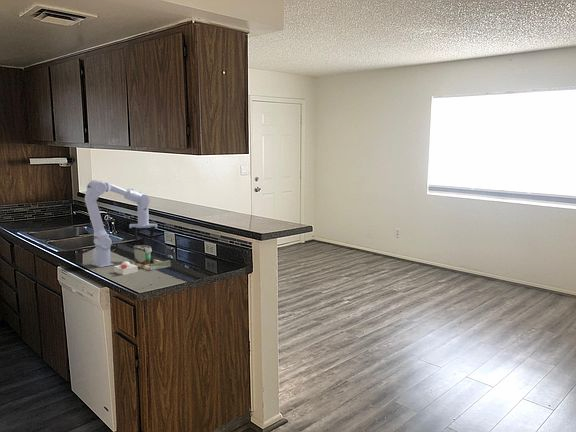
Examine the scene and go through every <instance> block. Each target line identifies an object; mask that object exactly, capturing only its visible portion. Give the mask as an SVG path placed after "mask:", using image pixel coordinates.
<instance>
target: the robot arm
mask: <svg viewBox="0 0 576 432" xmlns="http://www.w3.org/2000/svg"><path fill="white" fill-rule="evenodd" d="M106 192H108V193H109V192H112V193H116V194H118V195H121V196H123V197H124V199H125V200H127V201H131V202H133V203H135V204H137V223H130V224H129V229H131V232H132V234H133V236H134V239H135V242H138V229H143V228H144V229H147V228H149V236H150V237H149V241H150V242H152V240H153V236H154V232H155V229H156V228H158V224H157V223H150V222H149V221H150V219H149V218H150V217H149V216H150V215H149V205H150V203H151V199H150V197H149V195H147V194H143V192H141V191H139V192H138V191H136V190H135V189H134V188H127V189H124V188H122V187H120V186H117V185H115V184H112V183H109V182H104V181H102V180H101V181H100V180H96V179H94V180H91V181H90V182H89V183H88V184H87V185H86V191H85V195H84V202H85V206H86V208H87V212H88V215H89V219H90V222H91V225H92V228H93V244H94V245H95V248H94V249H93V250H92V253H91V254H92V255H91V257H92V263H91V264H90V265H92V266H95V267H98V268H104V267H109V266H112V265H113V266H115V263H113V262H112V260H111V259H112V257H111V246H112V243H113V241H112V239H111V238H110V237H109V235H108V232H107V231H106V229H105V226H104V223H103V220H102V216H101V212H100V209H99V206H98V202H97V201H98V199H99V197H100V196H102V195H103V194H104V193H106Z"/></svg>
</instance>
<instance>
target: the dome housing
mask: <svg viewBox="0 0 576 432" xmlns="http://www.w3.org/2000/svg"><path fill="white" fill-rule="evenodd" d="M121 264H122V263H121ZM121 264H119V265H113V269H114V270H113V271H114V273H115V272H116V273H115V274H118V275H122V276H125V275H129V274H134V273H135V274H136V273H138V272H139V270H138V268H139V267H138V266H136V265H135V264H133V263H130V264H131V267H127V268H126V264H122V265H121Z"/></svg>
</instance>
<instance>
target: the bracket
mask: <svg viewBox="0 0 576 432" xmlns="http://www.w3.org/2000/svg"><path fill="white" fill-rule="evenodd" d="M134 265H136V266H138V268H141V269H145V270H147V271H155V270H156V271H157V270H159V269H164V268H168V267H169V268H170V267H171V266H172V265H171V260H164V261H162V260H159V259H152V263H150V266H146V265H143V264H139V263H135V262H134Z"/></svg>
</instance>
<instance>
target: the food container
mask: <svg viewBox="0 0 576 432" xmlns="http://www.w3.org/2000/svg"><path fill="white" fill-rule="evenodd" d="M152 252H153V250H152V247H151V246H150V245H144V244H143V245H140V244H138V245H134V246H133V253H134V264H135V263H139V264H143V265H146V266H150V264H151V253H152Z"/></svg>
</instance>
